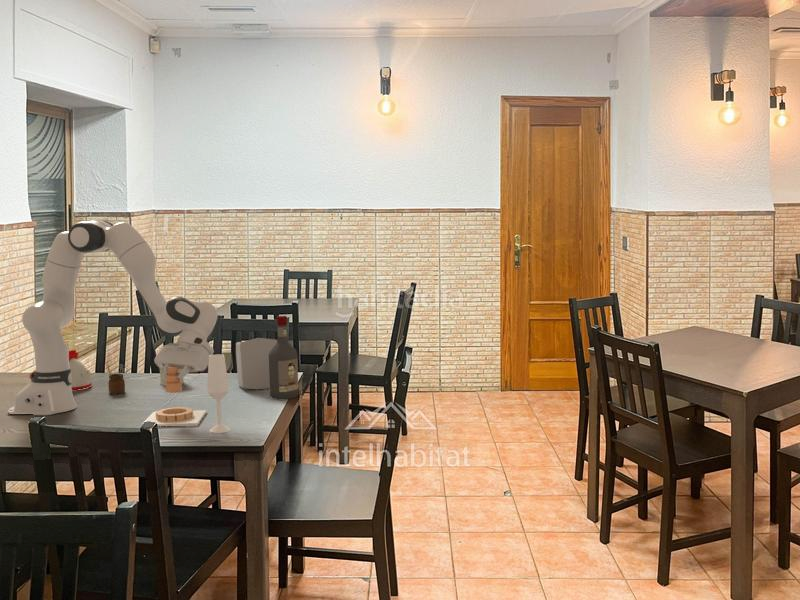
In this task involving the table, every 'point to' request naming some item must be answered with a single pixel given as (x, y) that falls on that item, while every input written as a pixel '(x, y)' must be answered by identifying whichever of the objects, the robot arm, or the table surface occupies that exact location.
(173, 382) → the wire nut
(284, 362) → the liquor
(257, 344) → the electrical switch box
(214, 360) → the champagne flute
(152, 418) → the collar plate
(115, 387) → the utensil holder
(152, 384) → the table surface
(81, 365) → the kitchen timer
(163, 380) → the can
